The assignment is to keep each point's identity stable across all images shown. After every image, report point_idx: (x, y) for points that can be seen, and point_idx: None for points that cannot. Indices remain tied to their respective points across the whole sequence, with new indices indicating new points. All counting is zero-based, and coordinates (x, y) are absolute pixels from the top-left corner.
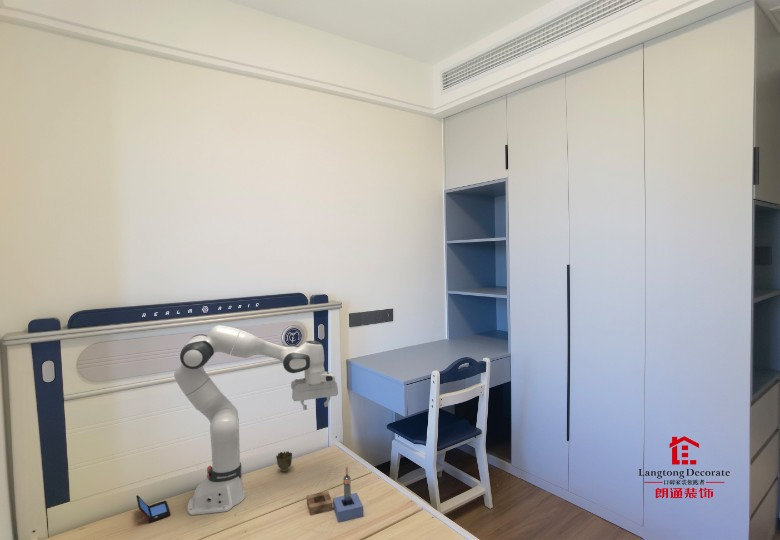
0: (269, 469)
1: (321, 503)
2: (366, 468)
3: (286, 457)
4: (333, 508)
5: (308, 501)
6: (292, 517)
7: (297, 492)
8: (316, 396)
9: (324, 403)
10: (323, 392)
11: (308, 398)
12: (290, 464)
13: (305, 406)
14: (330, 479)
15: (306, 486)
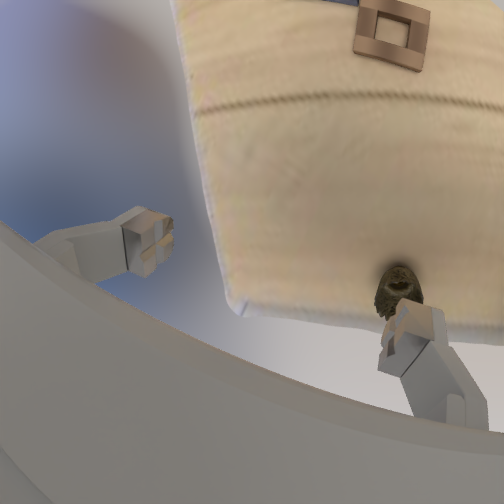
0: None
1: (393, 6)
2: (200, 138)
3: (384, 303)
4: (358, 3)
5: (426, 40)
6: (471, 42)
7: (423, 141)
8: (163, 366)
9: (150, 256)
10: (1, 327)
11: (382, 427)
12: (388, 271)
13: (423, 332)
14: (311, 142)
15: (389, 153)
